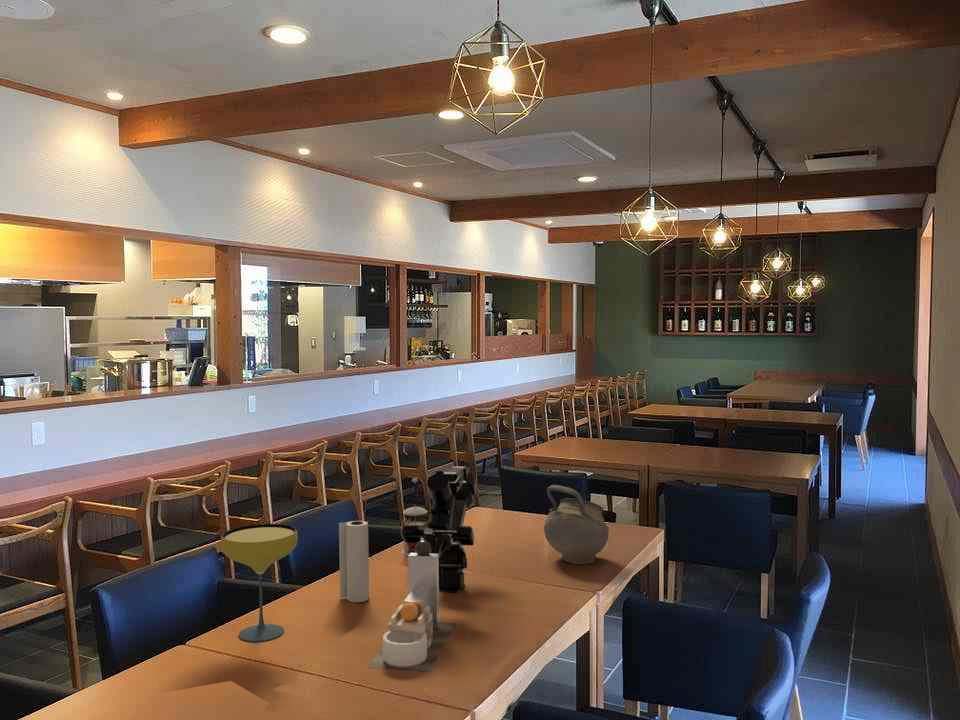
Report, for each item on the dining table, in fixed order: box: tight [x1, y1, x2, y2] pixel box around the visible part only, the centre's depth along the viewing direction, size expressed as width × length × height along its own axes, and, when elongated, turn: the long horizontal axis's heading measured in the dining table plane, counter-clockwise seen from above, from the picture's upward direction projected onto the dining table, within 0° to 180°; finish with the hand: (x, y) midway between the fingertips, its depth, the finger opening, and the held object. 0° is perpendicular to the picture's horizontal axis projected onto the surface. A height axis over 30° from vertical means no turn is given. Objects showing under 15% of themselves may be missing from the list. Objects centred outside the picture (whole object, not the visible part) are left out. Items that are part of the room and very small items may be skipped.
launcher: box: [366, 603, 456, 673], centre depth 182 cm, size 28×14×10 cm, turn 171°
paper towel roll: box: [338, 520, 370, 603], centre depth 216 cm, size 7×6×21 cm
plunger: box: [403, 540, 440, 629], centre depth 188 cm, size 13×7×21 cm, turn 171°
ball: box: [400, 603, 418, 621], centre depth 178 cm, size 4×4×4 cm
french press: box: [400, 477, 428, 557], centre depth 260 cm, size 10×12×25 cm
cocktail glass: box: [220, 523, 299, 643], centre depth 192 cm, size 18×18×25 cm
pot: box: [543, 484, 610, 565], centre depth 251 cm, size 21×21×25 cm
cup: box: [382, 630, 427, 667], centre depth 175 cm, size 10×10×5 cm
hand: (433, 563), depth 203 cm, fingers closed
